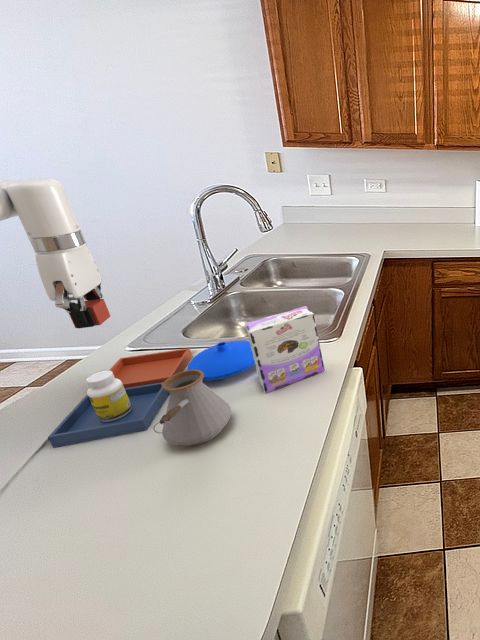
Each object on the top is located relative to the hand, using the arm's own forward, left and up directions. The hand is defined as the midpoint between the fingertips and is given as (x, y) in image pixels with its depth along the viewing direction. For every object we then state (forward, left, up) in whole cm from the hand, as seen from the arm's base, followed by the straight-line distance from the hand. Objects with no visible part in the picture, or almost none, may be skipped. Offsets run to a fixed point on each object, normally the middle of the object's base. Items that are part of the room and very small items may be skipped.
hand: (92, 320), depth 87 cm
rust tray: (+4, +3, -18) cm, 18 cm away
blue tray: (+4, -12, -18) cm, 22 cm away
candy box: (+38, -9, -18) cm, 43 cm away
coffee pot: (+23, -28, -18) cm, 40 cm away
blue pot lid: (+22, 0, -18) cm, 29 cm away
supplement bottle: (+4, -12, -17) cm, 22 cm away
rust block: (0, 0, 0) cm, 0 cm away
